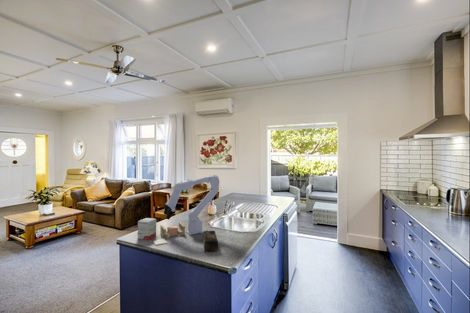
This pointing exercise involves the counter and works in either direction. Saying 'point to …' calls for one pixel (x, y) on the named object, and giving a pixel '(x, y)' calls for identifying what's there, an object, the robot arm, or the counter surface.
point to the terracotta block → (172, 230)
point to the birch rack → (166, 235)
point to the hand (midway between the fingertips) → (166, 216)
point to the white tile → (160, 242)
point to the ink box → (146, 228)
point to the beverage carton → (210, 241)
